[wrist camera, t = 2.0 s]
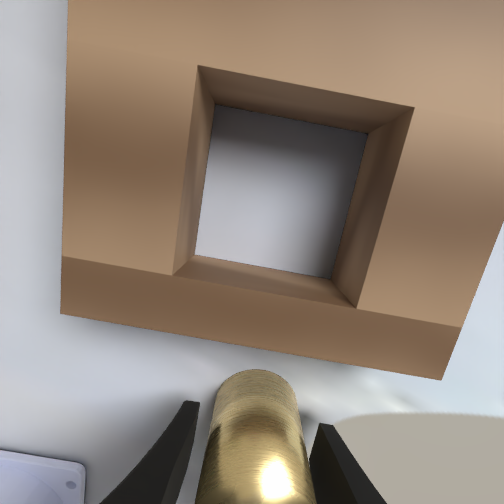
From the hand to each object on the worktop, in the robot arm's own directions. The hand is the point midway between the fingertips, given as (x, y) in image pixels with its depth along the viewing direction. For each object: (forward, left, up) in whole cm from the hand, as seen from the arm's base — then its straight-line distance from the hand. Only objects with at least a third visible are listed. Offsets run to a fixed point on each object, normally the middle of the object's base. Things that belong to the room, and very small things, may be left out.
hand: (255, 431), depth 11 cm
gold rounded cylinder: (0, 0, -2) cm, 2 cm away
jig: (+12, +1, -1) cm, 12 cm away
